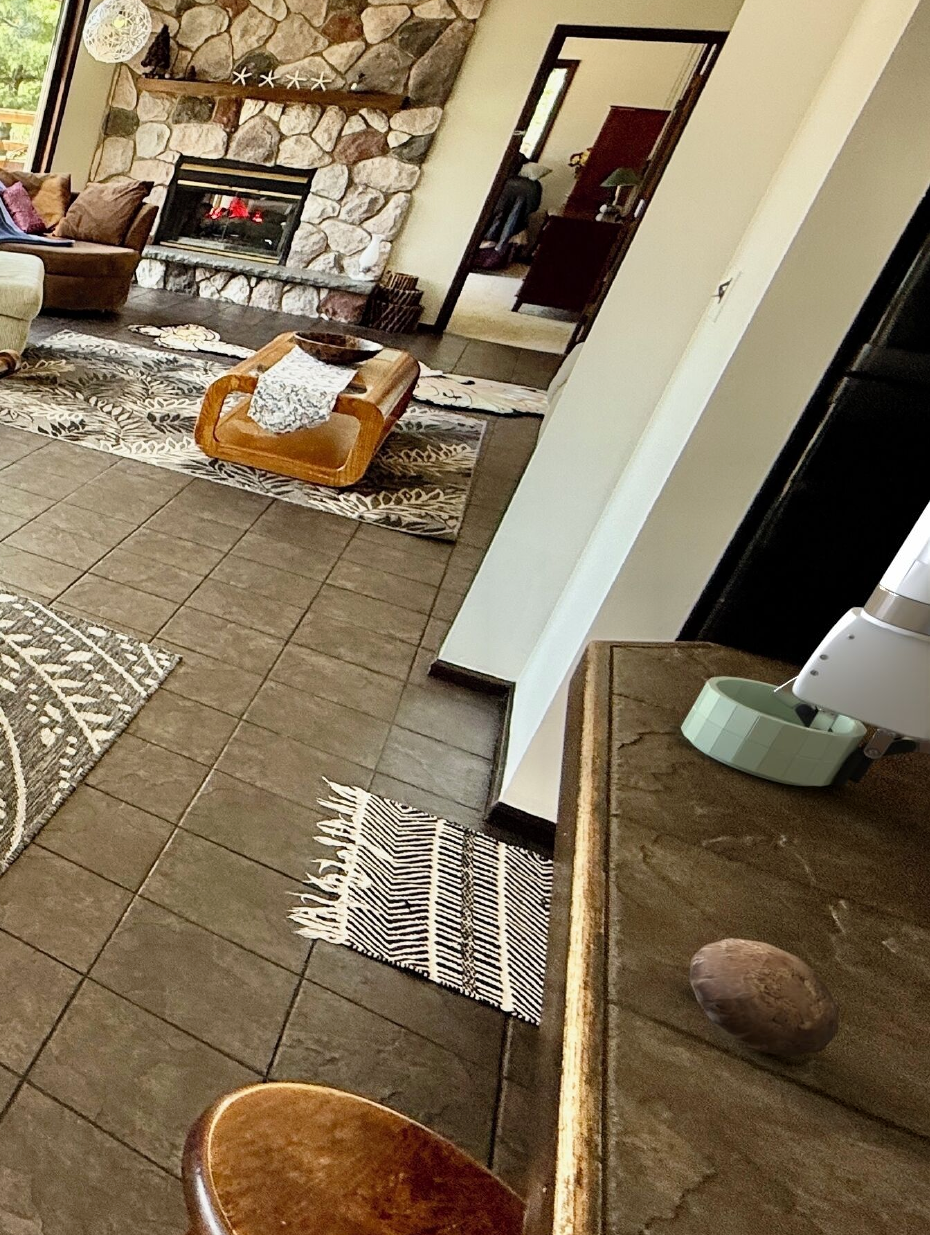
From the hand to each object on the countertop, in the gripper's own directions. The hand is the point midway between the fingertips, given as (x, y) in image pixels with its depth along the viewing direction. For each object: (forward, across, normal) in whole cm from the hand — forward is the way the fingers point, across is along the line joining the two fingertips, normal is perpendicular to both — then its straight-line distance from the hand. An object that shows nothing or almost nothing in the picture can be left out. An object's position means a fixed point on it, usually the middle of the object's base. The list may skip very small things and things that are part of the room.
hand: (823, 776), depth 104 cm
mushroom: (+1, -5, +53) cm, 54 cm away
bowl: (+1, +5, 0) cm, 5 cm away
